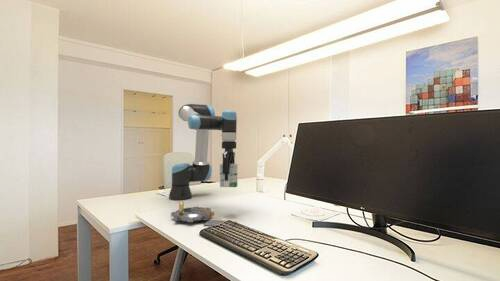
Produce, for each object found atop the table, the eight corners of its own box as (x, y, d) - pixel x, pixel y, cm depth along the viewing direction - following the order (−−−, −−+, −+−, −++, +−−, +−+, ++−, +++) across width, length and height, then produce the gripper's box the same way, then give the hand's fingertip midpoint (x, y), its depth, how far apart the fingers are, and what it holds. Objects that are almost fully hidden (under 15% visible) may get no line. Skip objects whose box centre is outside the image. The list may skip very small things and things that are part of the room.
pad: (211, 220, 126) (211, 218, 126) (236, 222, 123) (236, 220, 123) (203, 226, 117) (203, 224, 117) (230, 228, 114) (230, 226, 114)
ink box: (237, 185, 134) (238, 163, 134) (236, 187, 129) (236, 164, 129) (221, 185, 135) (221, 162, 135) (219, 187, 130) (219, 163, 130)
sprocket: (162, 216, 126) (162, 200, 126) (196, 208, 142) (196, 193, 142) (188, 225, 113) (188, 207, 113) (223, 215, 129) (223, 199, 129)
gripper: (227, 140, 142) (227, 182, 142) (215, 140, 124) (215, 188, 124) (240, 140, 140) (240, 183, 140) (230, 141, 122) (230, 189, 122)
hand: (228, 185), depth 132 cm, fingers closed on ink box, 5 cm apart
